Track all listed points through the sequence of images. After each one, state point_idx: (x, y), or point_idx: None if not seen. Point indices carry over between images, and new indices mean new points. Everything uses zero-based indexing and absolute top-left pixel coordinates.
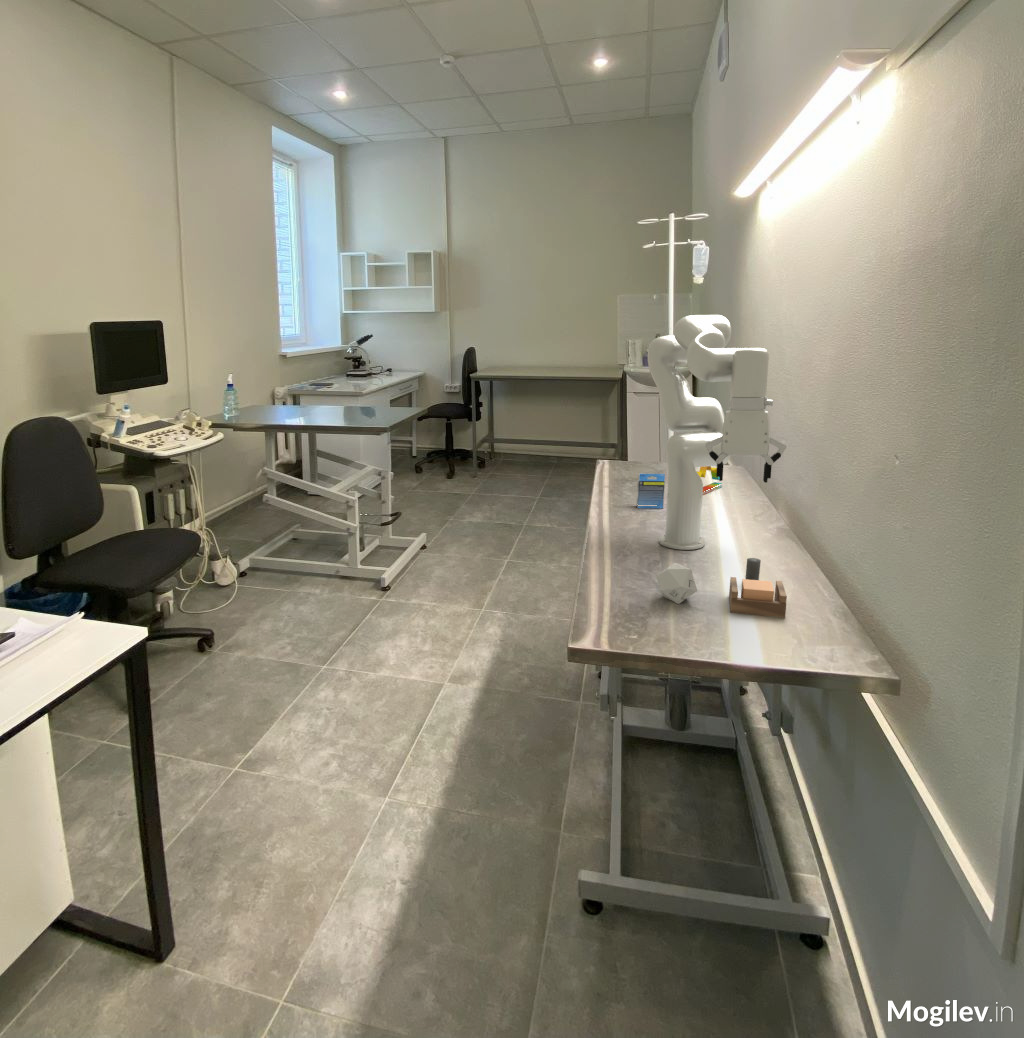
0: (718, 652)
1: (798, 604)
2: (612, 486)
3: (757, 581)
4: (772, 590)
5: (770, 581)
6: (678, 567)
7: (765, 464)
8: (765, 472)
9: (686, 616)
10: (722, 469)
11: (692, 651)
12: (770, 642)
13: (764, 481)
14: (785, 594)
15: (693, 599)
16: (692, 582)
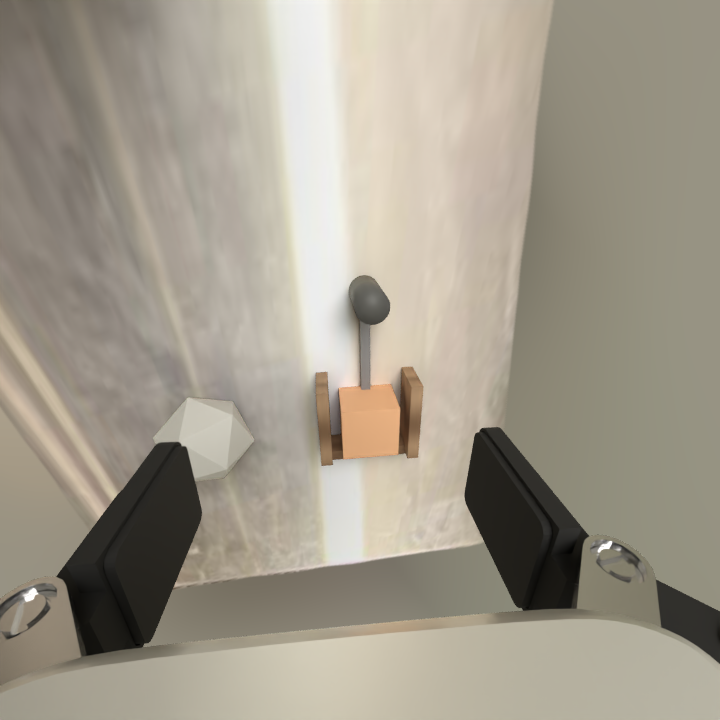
0: (311, 551)
1: (442, 376)
2: None
3: (371, 416)
4: (395, 452)
5: (398, 409)
6: (197, 467)
7: (541, 567)
8: (497, 554)
9: (252, 476)
10: (163, 598)
11: (279, 558)
12: (376, 512)
13: (468, 500)
14: (417, 449)
15: (250, 409)
16: (240, 456)
